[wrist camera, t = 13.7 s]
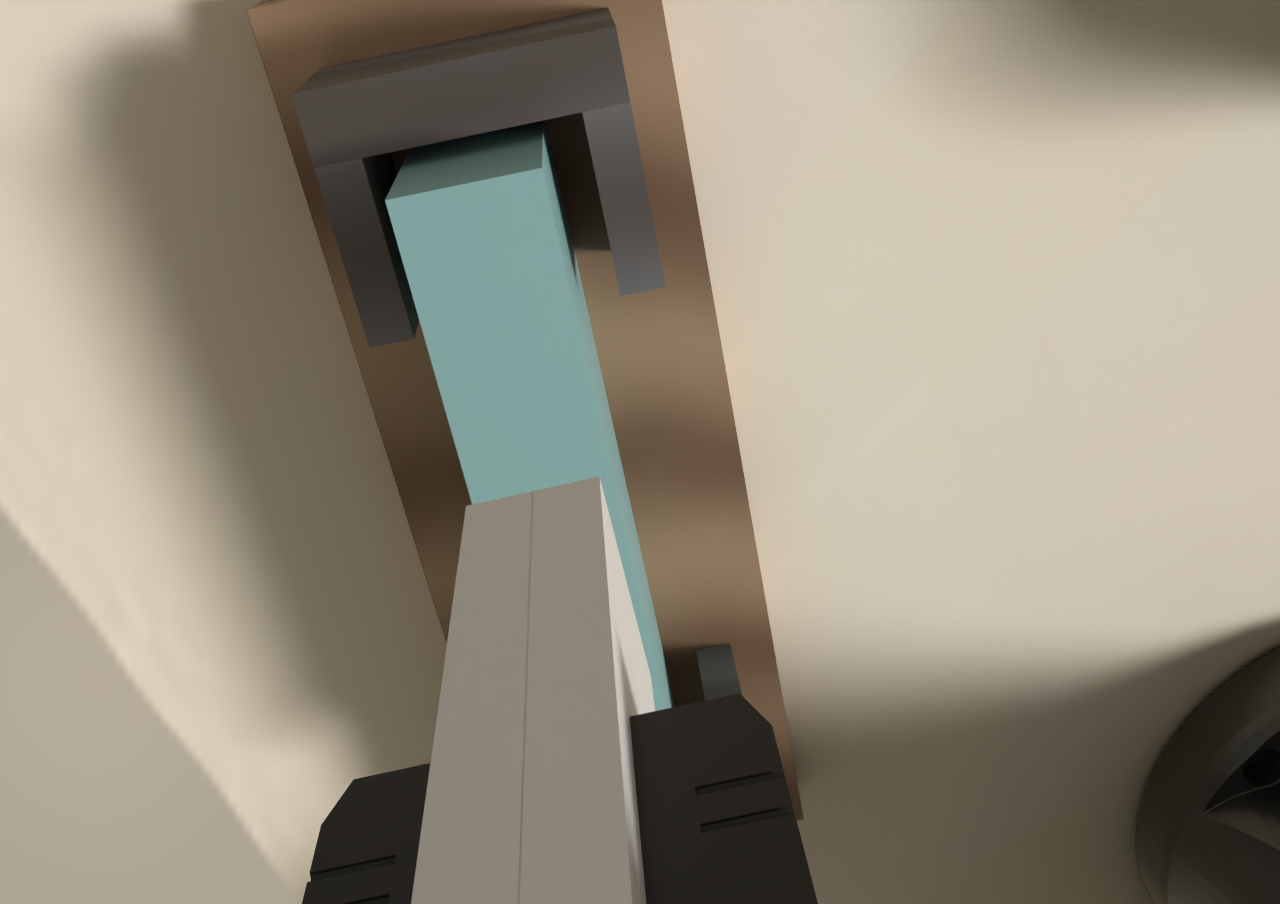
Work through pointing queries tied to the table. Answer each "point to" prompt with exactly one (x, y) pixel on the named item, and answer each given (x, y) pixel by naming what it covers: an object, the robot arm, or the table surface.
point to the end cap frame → (607, 261)
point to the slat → (514, 332)
